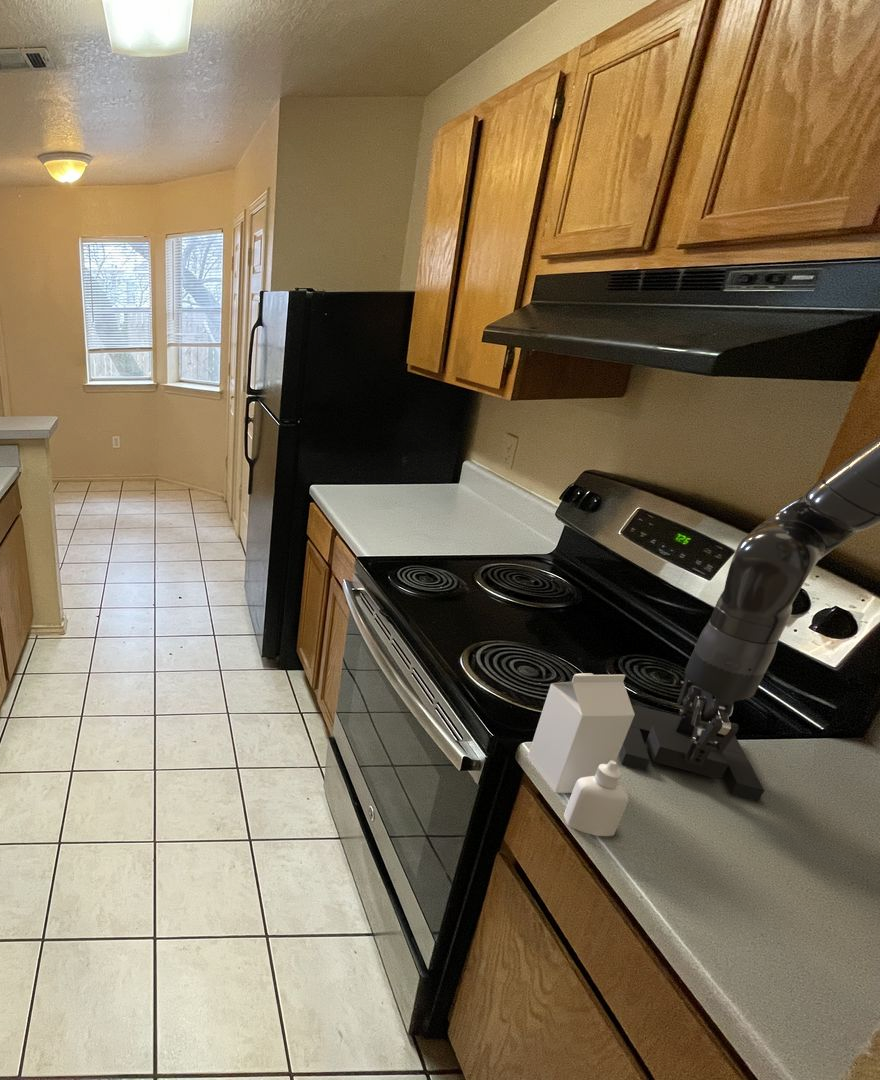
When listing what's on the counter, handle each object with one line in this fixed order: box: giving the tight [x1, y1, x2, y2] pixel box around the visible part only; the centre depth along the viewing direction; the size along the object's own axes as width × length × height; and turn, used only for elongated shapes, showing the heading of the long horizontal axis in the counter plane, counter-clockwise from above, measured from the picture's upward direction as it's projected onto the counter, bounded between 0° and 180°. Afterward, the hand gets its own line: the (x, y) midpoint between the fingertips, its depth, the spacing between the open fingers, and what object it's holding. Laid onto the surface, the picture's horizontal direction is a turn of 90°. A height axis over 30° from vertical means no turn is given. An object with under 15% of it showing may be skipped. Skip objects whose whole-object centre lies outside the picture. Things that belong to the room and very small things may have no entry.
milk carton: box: [527, 672, 635, 794], centre depth 85 cm, size 7×7×19 cm
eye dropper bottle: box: [563, 760, 629, 837], centre depth 78 cm, size 4×6×12 cm
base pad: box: [618, 703, 765, 802], centre depth 92 cm, size 16×14×3 cm
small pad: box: [646, 726, 729, 780], centre depth 89 cm, size 8×5×3 cm, turn 63°
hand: (686, 749), depth 89 cm, fingers closed on small pad, 5 cm apart
